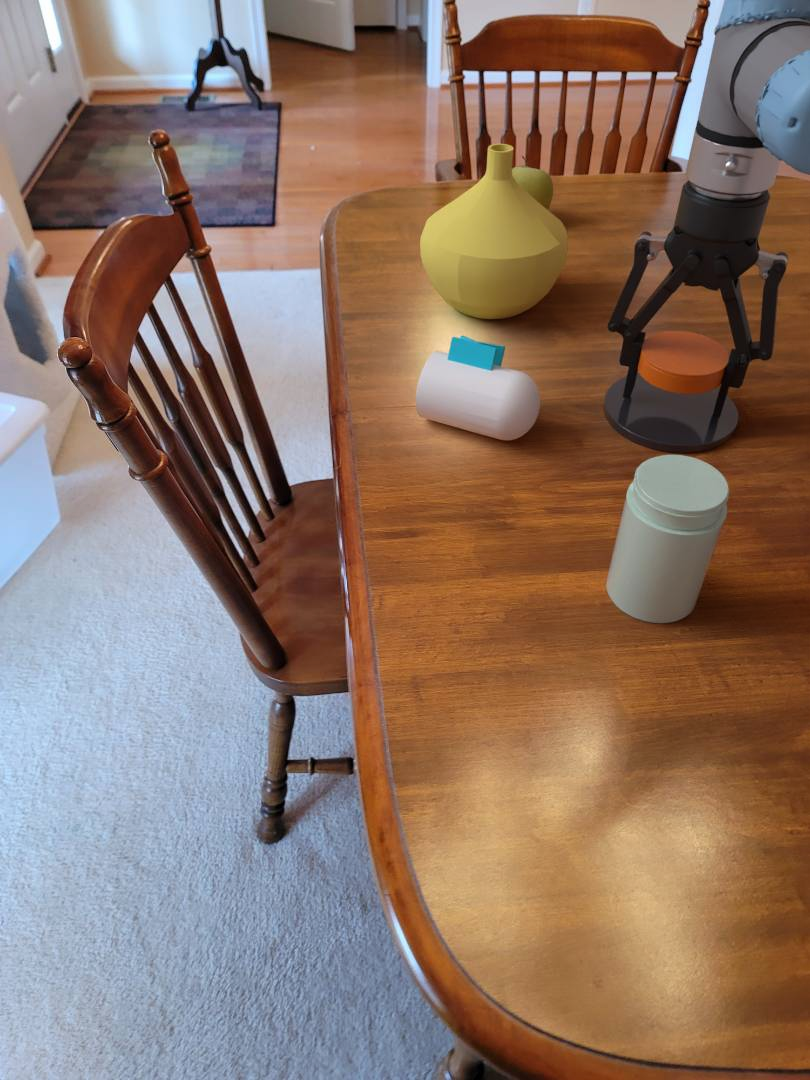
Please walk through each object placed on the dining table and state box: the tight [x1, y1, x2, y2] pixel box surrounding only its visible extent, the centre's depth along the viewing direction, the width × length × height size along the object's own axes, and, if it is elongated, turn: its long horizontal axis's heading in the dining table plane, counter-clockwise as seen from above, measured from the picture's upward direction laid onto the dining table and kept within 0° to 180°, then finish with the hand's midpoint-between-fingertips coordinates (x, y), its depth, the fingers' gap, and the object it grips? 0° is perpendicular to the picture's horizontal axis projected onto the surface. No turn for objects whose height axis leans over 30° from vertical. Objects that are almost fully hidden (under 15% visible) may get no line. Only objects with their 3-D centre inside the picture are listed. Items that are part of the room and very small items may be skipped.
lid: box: [637, 330, 730, 394], centre depth 86 cm, size 9×9×2 cm
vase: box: [419, 143, 569, 320], centre depth 102 cm, size 18×18×19 cm
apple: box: [512, 155, 554, 211], centre depth 124 cm, size 8×8×10 cm
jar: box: [605, 454, 730, 624], centre depth 67 cm, size 8×8×12 cm
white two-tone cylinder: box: [415, 334, 541, 441], centre depth 88 cm, size 12×9×12 cm
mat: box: [603, 372, 739, 454], centre depth 90 cm, size 14×14×1 cm
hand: (672, 400), depth 89 cm, fingers closed on lid, 9 cm apart
